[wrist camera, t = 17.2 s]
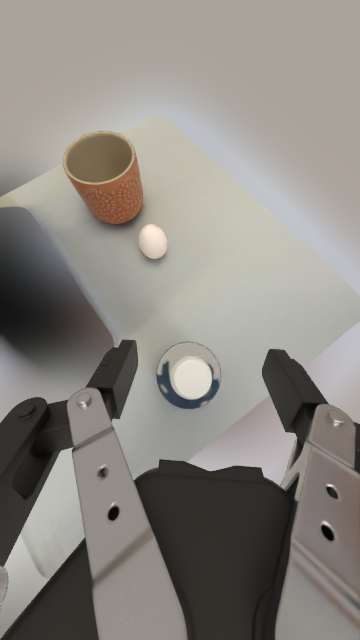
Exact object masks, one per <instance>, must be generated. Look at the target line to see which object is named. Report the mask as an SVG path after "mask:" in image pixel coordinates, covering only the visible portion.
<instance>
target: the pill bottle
mask: <svg viewBox="0 0 360 640" xmlns="http://www.w3.org/2000/svg"><path fill="white" fill-rule="evenodd" d="M170 382H171V385H172V388H173V389H174V391H175V392H176V393H177V394H178V395H179V396H181V397H183V398H185V399H191V400H192V399H198V398H200V397H202V396H203V395H205V394H206V393H207V392H208V390H209V389H210V386H211V383H212V373H211V370H210V367H209V366H208V364H207V363H206V362H205V361H204V360H203V359H201V358H199V357H197V356H185V357H182V358H180V359H179V360H177V361H176V362H175V364H174V365H173V367H172V369H171V372H170Z"/></svg>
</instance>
